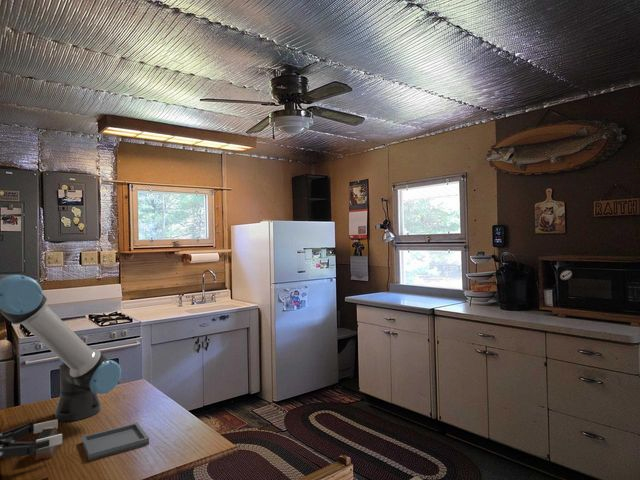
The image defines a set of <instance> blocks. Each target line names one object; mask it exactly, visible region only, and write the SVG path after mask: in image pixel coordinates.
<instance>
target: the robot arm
mask: <svg viewBox="0 0 640 480" xmlns="http://www.w3.org/2000/svg"><path fill="white" fill-rule="evenodd" d="M47 302H48V298H47V297H46V296H45V294H43V290H42V287H41V285H40V283H39V282H38V281H36V280H35V279H34V278H32V277H30V276H26V275H23V274H17V273H16V274H4V273H0V314H1V315H2V316H3V317H4V318H6V319H7V320H8V321H9V322H10V323H11V324H13V325H22V326H24V328H25V329H26V330H27V331H28V332H30V333H31V334H32V335H33V336H34V337H36V338H37V340H39V341H40V342H41V343H42V344H43V345H44V346H45V347H46V348H47V349H49V350H50V352H51V353H53V354H54V355H55V356H56V357H57V358H58V359H59V365H58V367H59V389H60V390H59V392H60V394H59V399H58V402H57V405H56V406H55V410H54V418H55V419H52V420H46V421H43V422H39V423H34V421H29V422H27V423H25V424H22V425H18V426H16V427H13V428H9V429H8V430H5V431H2V432H0V459H3V458H13V457H15V458H17V457H25V456H33V455H36V451H37V450H39V449H43V448H47V447H51V446H55V445H59V444H61V445H62V444H63V433H58V435H54V436H50V437H46V438H42V439H38V438H37V439H36V440H35V441H19V440H21V439H23V438H24V437H27V436H29V435H31V434H33V435H34V434H41V432H42V430H43V429H44V428H45V427H54V426H55V427H56V429H57V430H58V429H59V421H62V422H71V421H72V422H73V421H79V420H82V419H86V418H89V417H92V416H94V415H96V414H98V413H99V412H100V411H101V408H102V406H101V405H102V403H101V400H100V397H99V396H98V395H104V394H105V395H106V394H109V393H110V392H111V391H112V390H114V389H115V388H117V386H118V384H119V382H120V380H121V377H122V376H121V375H122V368H121V366H120V364H119V363H118V362H117V361H115V360H111V359H109V358H107V357H106V356H105V355H104V353H102V352H101V351H100V350H99V349H96V348H94V349H92V348H90V346H88V344H87V343H85V341H83V340H82V339H81V337H79V335H77V334H76V333H75V332H74V331H73V329H71V328H70V327H69V325H67V324H66V323H65V322H64V321H63V320H62V319H61V318H60V317H59V316H58V315H57V314H56V313H55V312H54V311H53V310H52V309H51V308H50V307H49V306H48V305H47V304H48V303H47Z"/></svg>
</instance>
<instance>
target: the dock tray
mask: <svg viewBox="0 0 640 480" xmlns="http://www.w3.org/2000/svg"><path fill="white" fill-rule="evenodd" d="M81 443H82V446H83V449H84V451H85V454H86V457H87V459H88V462H92V461H95V460H97V459H101V458H106V457H109V456H113V455H116V454H119V453H123V452H124V453H125V452H127V451H130V450H133V449H138V448H141V447H145V446H148V445H150V437H149V435H147V433H146V432H145V431H144V429H143V428H142V426H141V425H140V424H139V423H138V422H134V423H130V424H127V425H121V426H118V427H114V428H110V429H106V430H102V431H96V432H94V433H90V434H86V435H82V436H81Z"/></svg>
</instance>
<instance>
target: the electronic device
mask: <svg viewBox="0 0 640 480" xmlns="http://www.w3.org/2000/svg"><path fill="white" fill-rule="evenodd" d="M58 431H59V430H58V428H57V429H56V427H55V426H54V427H45V428H44V429H43V430H42V432H40V433H39V435H38V436H37V439H42V438H46V437H50V436H54V435H58V434H59V432H58ZM61 445H62V444H59V445H55V446H51V447H47V448H43V449H39V450H36V454H35V460H37V461H38V460H40V459H41V460H45V459H52V458H53V456H54V454H55V453H56V452H57V450H58V449H59V447H60V446H61Z"/></svg>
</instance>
